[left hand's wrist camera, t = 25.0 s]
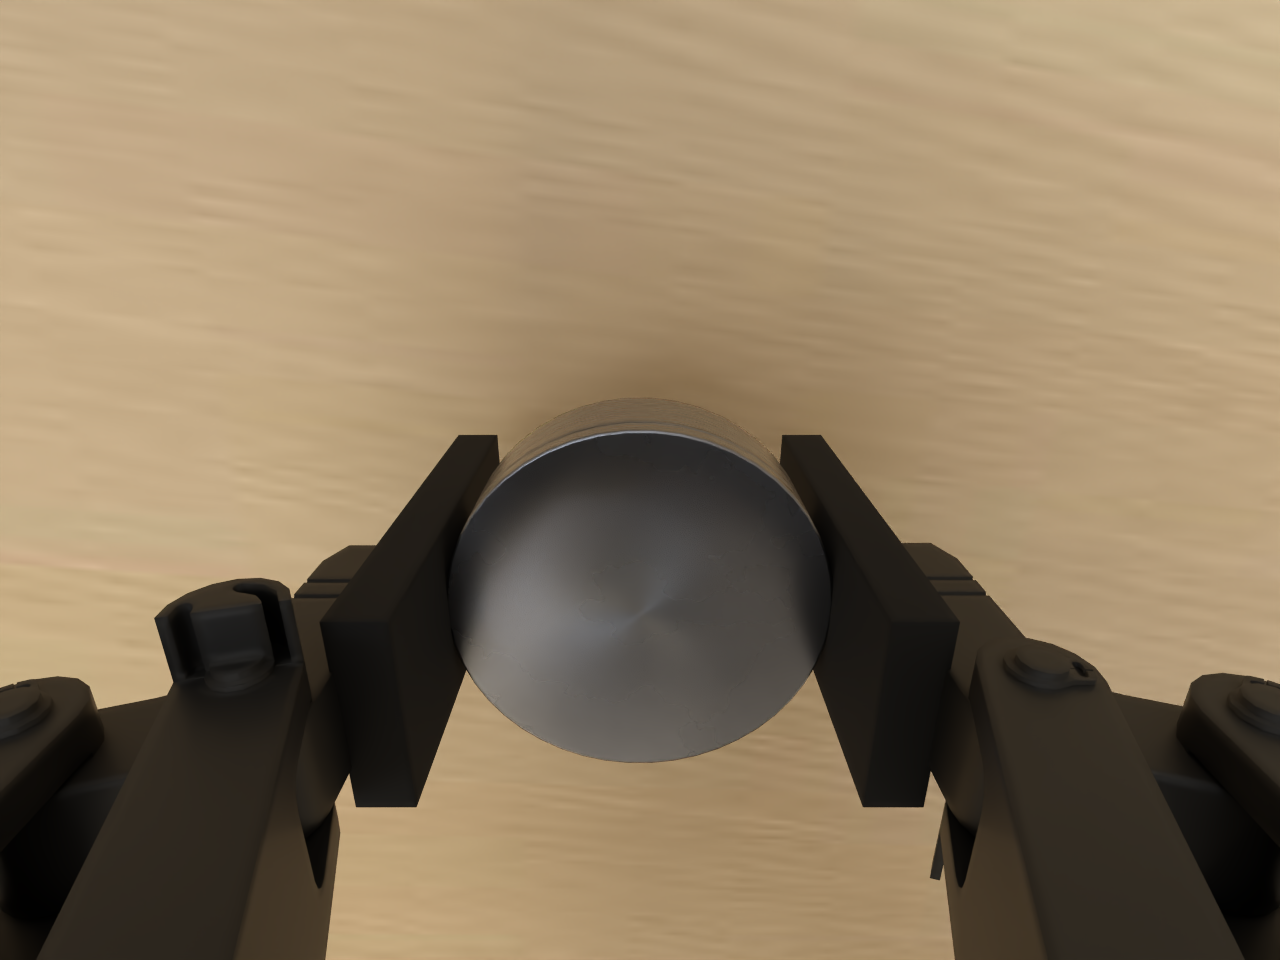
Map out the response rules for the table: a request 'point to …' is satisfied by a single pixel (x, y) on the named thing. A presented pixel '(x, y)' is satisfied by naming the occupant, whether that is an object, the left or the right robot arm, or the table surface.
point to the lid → (639, 583)
